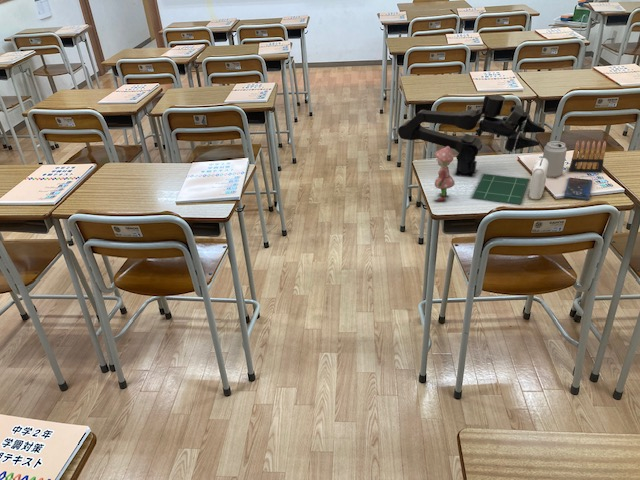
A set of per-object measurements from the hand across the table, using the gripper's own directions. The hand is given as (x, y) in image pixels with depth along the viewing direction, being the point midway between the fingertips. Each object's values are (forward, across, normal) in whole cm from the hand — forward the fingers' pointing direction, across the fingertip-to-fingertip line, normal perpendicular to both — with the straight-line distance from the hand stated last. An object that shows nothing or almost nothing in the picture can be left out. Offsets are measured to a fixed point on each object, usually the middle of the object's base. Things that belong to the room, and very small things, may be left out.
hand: (542, 137), depth 168 cm
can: (+7, +6, +17) cm, 20 cm away
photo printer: (+5, -11, +15) cm, 20 cm away
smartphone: (+17, -4, +14) cm, 22 cm away
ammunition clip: (+18, +12, +17) cm, 27 cm away
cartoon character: (-24, -26, +18) cm, 40 cm away
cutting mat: (-7, -12, +17) cm, 22 cm away
